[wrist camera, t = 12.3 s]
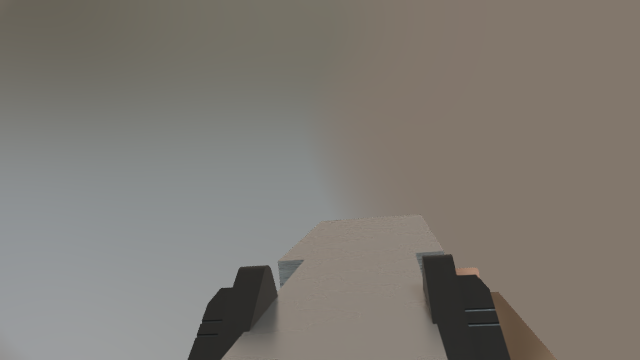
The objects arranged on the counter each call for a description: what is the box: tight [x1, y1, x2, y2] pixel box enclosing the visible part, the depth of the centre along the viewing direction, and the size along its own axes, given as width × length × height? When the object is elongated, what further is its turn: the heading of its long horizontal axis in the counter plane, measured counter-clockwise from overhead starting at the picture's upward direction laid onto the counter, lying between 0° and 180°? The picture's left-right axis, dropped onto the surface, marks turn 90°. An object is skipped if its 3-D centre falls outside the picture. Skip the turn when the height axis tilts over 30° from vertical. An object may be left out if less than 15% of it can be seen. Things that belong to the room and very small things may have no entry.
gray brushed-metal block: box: [221, 214, 448, 360], centre depth 19 cm, size 6×22×2 cm, turn 172°
